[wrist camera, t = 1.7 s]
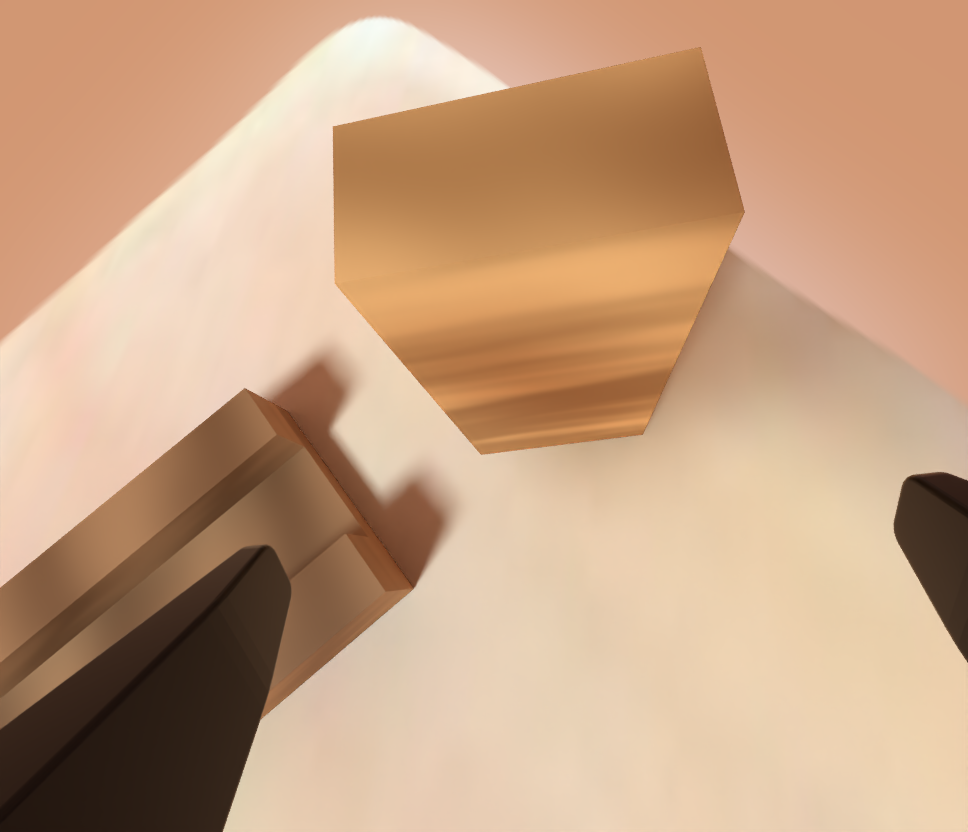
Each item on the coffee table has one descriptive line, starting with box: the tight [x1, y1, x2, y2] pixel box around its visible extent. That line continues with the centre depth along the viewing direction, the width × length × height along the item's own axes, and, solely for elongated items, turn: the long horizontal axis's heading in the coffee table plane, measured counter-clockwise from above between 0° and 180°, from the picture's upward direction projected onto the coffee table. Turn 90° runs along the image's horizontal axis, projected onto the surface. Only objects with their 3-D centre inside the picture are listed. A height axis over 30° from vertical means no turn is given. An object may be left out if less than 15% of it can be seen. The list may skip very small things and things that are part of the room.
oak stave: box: [333, 47, 744, 455], centre depth 15 cm, size 3×6×13 cm, turn 95°
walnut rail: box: [0, 388, 414, 729], centre depth 19 cm, size 20×9×3 cm, turn 129°
